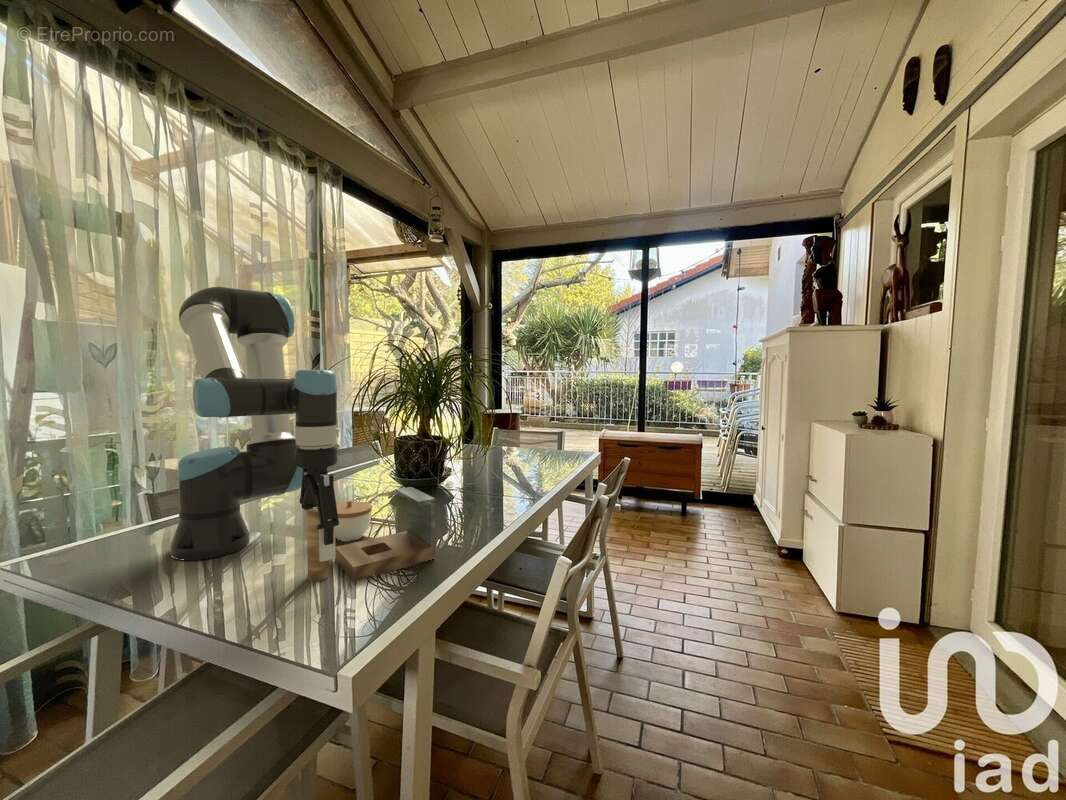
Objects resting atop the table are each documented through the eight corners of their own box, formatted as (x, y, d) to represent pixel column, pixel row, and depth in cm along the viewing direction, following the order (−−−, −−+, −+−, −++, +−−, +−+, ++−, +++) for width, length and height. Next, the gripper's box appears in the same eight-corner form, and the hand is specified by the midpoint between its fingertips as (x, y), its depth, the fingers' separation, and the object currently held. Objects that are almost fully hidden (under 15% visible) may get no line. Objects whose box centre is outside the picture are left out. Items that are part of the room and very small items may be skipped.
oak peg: (310, 583, 88) (309, 514, 88) (305, 576, 91) (304, 509, 91) (331, 577, 91) (330, 510, 90) (326, 570, 94) (325, 506, 93)
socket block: (353, 581, 89) (353, 513, 89) (335, 560, 99) (334, 498, 99) (435, 559, 101) (435, 498, 100) (410, 541, 111) (410, 486, 110)
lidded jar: (380, 533, 116) (380, 498, 115) (348, 548, 106) (347, 509, 106) (350, 527, 121) (350, 493, 120) (317, 540, 111) (316, 503, 110)
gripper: (355, 453, 82) (357, 564, 84) (320, 437, 102) (321, 528, 103) (312, 457, 78) (313, 575, 79) (283, 440, 97) (285, 535, 98)
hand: (318, 548), depth 91 cm, fingers open, 13 cm apart
